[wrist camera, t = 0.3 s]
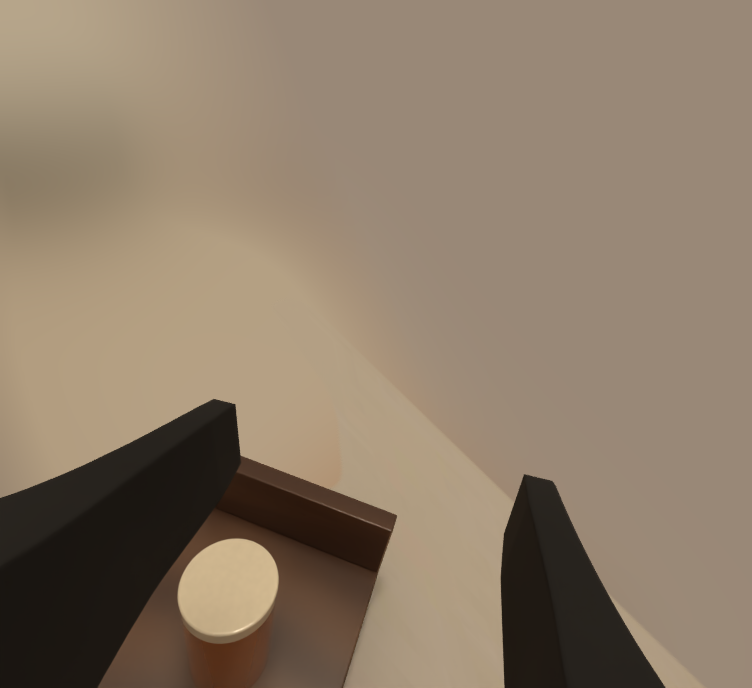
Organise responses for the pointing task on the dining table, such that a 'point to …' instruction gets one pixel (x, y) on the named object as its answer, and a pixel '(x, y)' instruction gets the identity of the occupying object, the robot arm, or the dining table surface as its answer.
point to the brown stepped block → (296, 583)
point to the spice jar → (228, 613)
